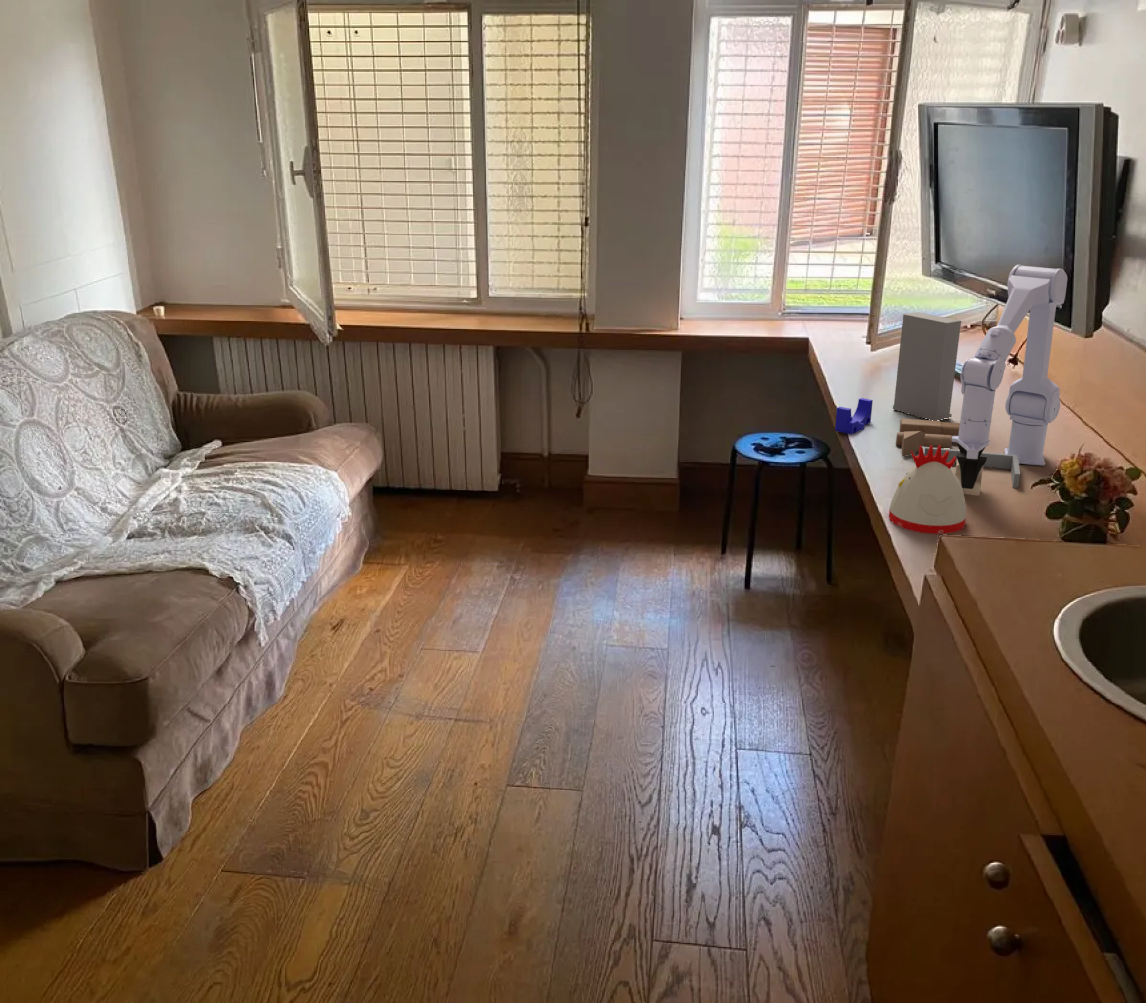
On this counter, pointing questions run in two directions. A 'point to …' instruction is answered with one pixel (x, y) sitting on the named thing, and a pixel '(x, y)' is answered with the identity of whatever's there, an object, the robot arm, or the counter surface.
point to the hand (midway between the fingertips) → (967, 481)
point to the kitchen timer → (929, 496)
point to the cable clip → (854, 417)
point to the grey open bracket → (989, 461)
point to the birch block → (977, 485)
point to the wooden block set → (925, 434)
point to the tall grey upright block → (926, 365)
